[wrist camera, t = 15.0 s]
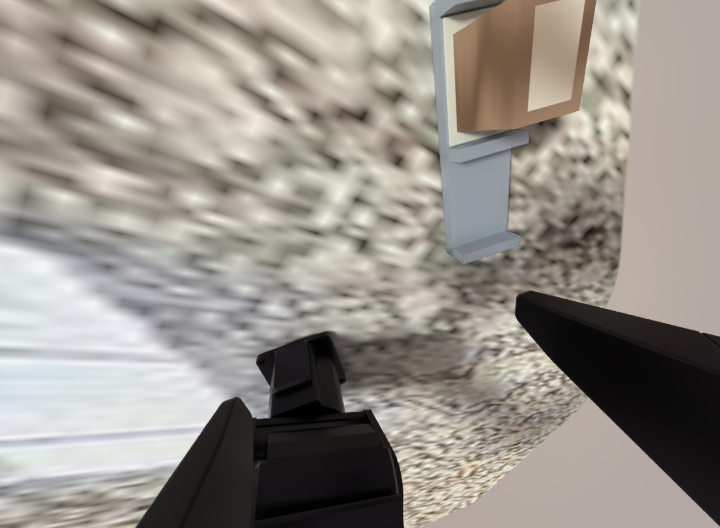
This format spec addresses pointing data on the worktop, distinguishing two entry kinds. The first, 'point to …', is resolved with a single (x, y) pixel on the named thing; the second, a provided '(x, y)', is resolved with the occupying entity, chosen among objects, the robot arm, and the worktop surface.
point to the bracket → (469, 150)
